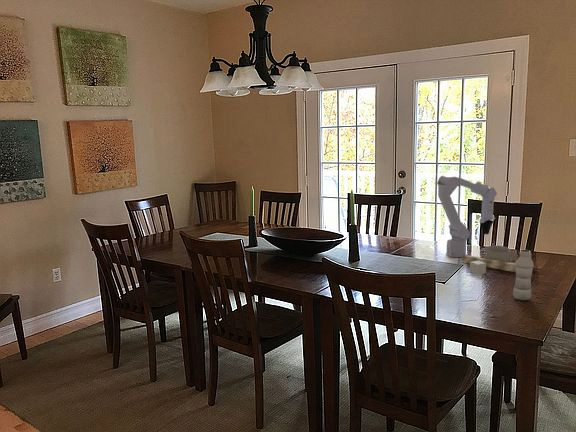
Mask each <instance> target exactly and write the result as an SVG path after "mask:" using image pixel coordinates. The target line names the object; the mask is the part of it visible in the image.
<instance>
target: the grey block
mask: <svg viewBox="0 0 576 432" xmlns="http://www.w3.org/2000/svg"><path fill="white" fill-rule="evenodd" d="M486 271H487V267H486V263H484V262H481V261H472V262H470V264H469V273H471V274H474V275H477V276H479V275H483V274H486V273H487V272H486Z"/></svg>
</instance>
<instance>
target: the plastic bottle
mask: <svg viewBox="0 0 576 432" xmlns="http://www.w3.org/2000/svg"><path fill="white" fill-rule="evenodd" d="M519 250H520V251H519V257H518V258H517V259H516V261H515V262H514V263H515V267H516V272H515V281H514V283H515V284H514V287H513V290H512V295H513V298H514V299H515V300H517V301H529V300H530V299H531V297H532V286H531V285H532V283H531V282H532V281H531V280H532V274H533V270H534V265H535V264H534V261H533V260H532V253H531V250H529V249H519ZM530 253H531V254H530ZM530 256H531V258H530Z"/></svg>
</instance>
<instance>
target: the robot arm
mask: <svg viewBox="0 0 576 432" xmlns="http://www.w3.org/2000/svg"><path fill="white" fill-rule="evenodd" d="M436 184H437V187H438V191H437V192H438V193H437V195H438V199H439V202H440V203H441V205H442V208H443V210H444V213H445V215H446V217H447V220H448V222H449V225H448V228H449V234H450V237H451V239H448V240H447V241H446V253H445V254H446V255H447V256H448V257H450V258H462V255H467V241H468V239H469V238H470V230H469V229H468V228H467V227H466V225H465V224H464V223H463V222H462V221H461V219H460V216H459V214H458V211H457V209H456V206H455V204H454V201H453V198H452V197H451V195H452V194H453V192H455V191H456V189H457V188H458V187H460V186H462V187H464V188H468V189H469V190H470V192H471V193H474V194H476V195H479V196H481V197H482V199H481V215H480V218H479V223H480V225H481V228H482V231H483V234H484V235H489V234H490V231H491V227H492V225H493V223H494V220H495V219H496V217H495V215H494V202H495V198H496V196H497V195H498V193H497V190H496V189H495V187H492V186H489V185H488V184H483V183H482V182H480V181H474V182H472V181H469V180H467V179H465V178H462V177H458V176H457V177H456V176H453V175H446V174H442V175H441V176H440V177H439V178H438V180H437V182H436Z"/></svg>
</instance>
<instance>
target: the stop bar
mask: <svg viewBox="0 0 576 432" xmlns="http://www.w3.org/2000/svg"><path fill="white" fill-rule="evenodd" d="M472 261H481V262H484V263H486V268H491V269H494V270H495V269H497V270H502V271H507V272H512V273H516V267H515V262H509V261H508V262H504V261H498V260H493V259H487V258H484V257H482V256H481V257H479V256H474V255H469V254H466V255H462V257H461V263H463V264H467V265H468V264H469V265H470V262H472Z"/></svg>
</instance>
